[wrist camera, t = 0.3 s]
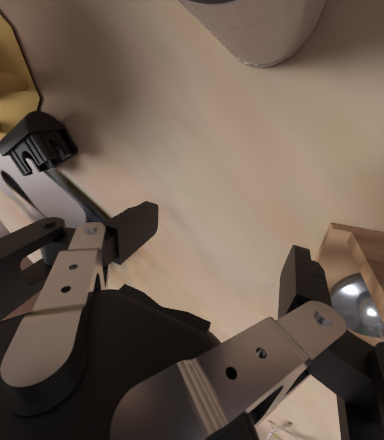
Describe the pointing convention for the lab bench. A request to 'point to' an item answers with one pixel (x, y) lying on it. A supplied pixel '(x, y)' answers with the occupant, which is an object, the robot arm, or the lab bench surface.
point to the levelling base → (355, 262)
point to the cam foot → (357, 306)
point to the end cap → (38, 143)
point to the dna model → (276, 430)
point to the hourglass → (14, 82)
